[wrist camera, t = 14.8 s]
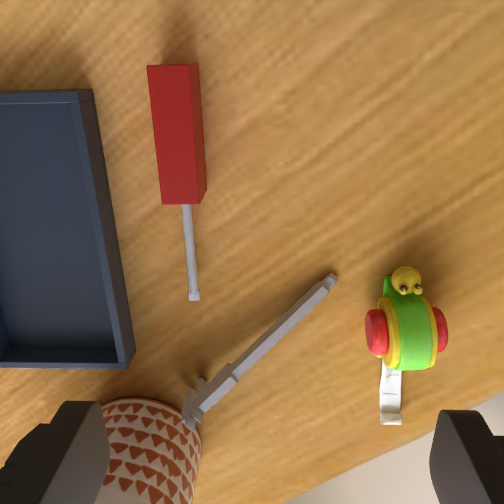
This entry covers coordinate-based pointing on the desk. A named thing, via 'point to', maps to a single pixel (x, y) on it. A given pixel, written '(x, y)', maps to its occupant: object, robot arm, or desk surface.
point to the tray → (58, 238)
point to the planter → (149, 454)
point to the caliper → (250, 356)
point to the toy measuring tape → (403, 336)
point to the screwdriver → (179, 146)
